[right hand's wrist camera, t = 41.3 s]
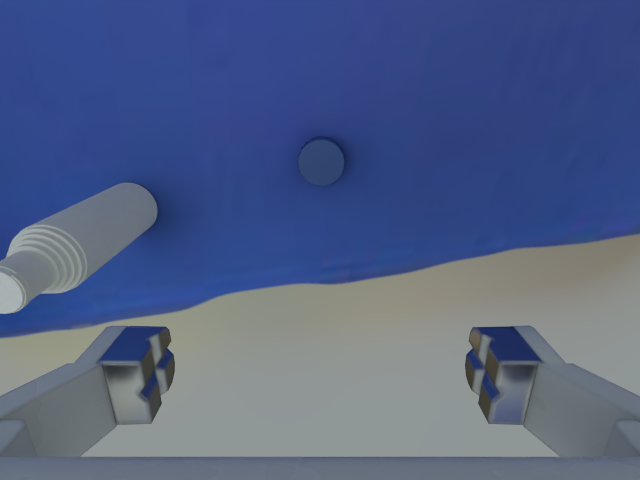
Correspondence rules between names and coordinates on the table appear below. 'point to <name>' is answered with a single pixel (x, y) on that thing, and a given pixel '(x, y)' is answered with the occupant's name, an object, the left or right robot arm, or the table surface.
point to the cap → (321, 161)
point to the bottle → (73, 244)
